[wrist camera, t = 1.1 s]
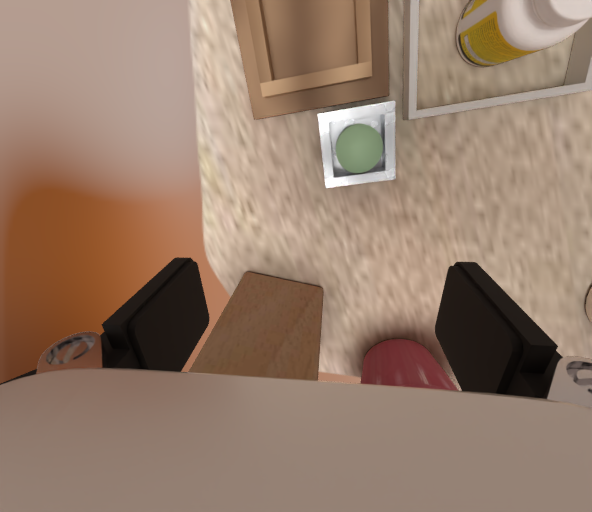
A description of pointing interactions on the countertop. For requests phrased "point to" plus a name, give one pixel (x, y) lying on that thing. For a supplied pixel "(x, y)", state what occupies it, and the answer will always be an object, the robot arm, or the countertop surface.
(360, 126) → the button
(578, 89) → the frame
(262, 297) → the wooden block
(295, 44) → the brown wooden square tray
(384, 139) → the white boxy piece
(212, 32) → the countertop surface
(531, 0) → the supplement bottle
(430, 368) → the plant pot
